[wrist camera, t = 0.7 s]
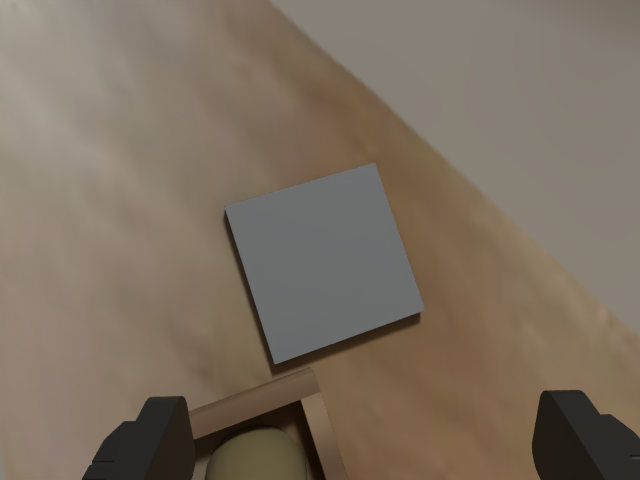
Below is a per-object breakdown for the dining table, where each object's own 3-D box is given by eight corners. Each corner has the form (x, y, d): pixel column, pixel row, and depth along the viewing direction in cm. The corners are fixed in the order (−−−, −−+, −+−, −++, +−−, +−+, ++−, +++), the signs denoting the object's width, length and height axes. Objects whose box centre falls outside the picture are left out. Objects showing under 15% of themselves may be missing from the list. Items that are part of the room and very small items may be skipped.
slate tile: (225, 208, 29) (224, 206, 28) (371, 165, 31) (374, 162, 30) (274, 362, 29) (274, 364, 28) (420, 309, 30) (425, 310, 30)
